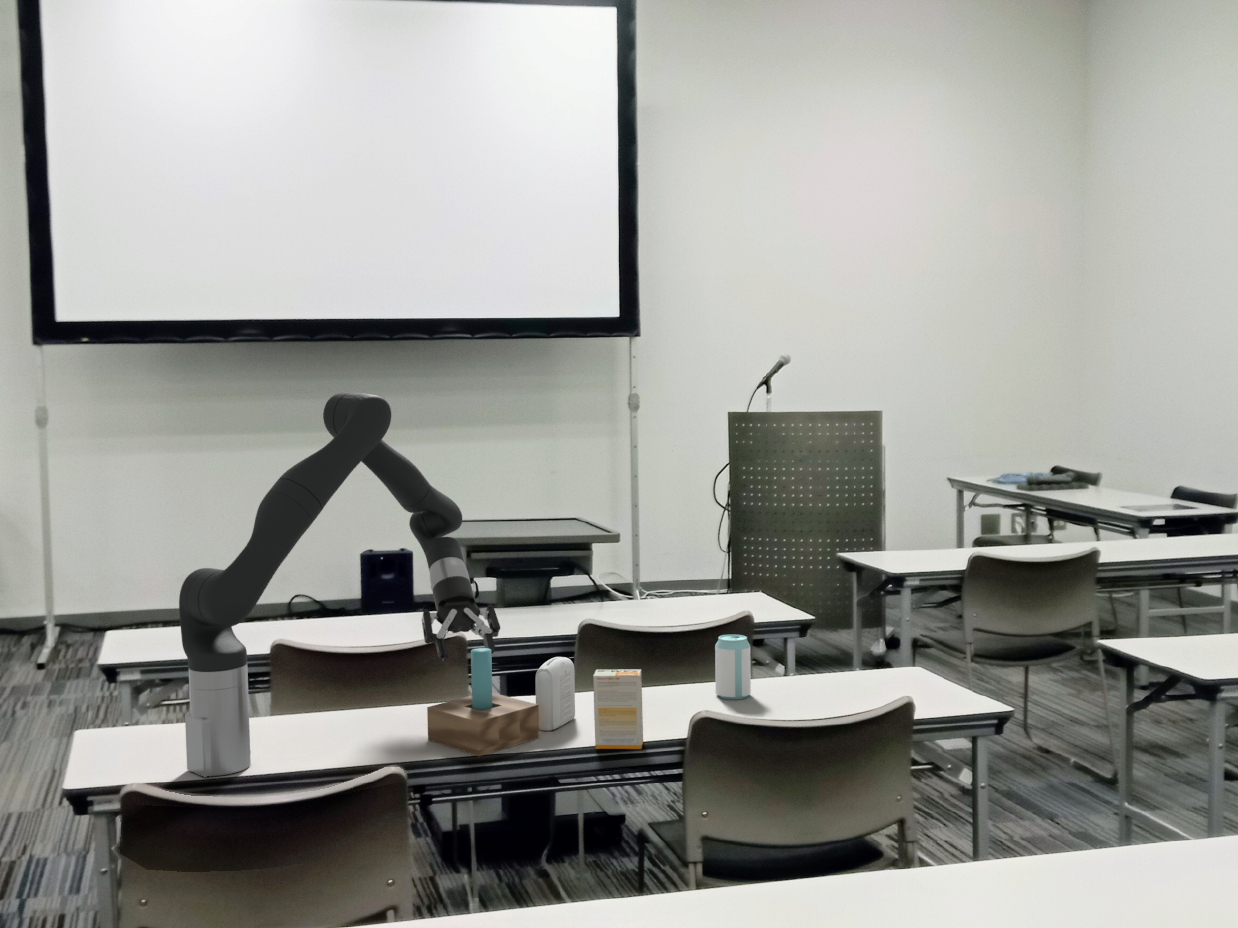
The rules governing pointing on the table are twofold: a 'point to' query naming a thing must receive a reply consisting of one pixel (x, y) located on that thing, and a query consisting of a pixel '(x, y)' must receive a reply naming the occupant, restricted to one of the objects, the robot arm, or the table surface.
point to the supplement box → (618, 708)
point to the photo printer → (555, 693)
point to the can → (732, 667)
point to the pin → (481, 679)
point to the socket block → (483, 724)
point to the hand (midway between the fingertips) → (468, 656)
